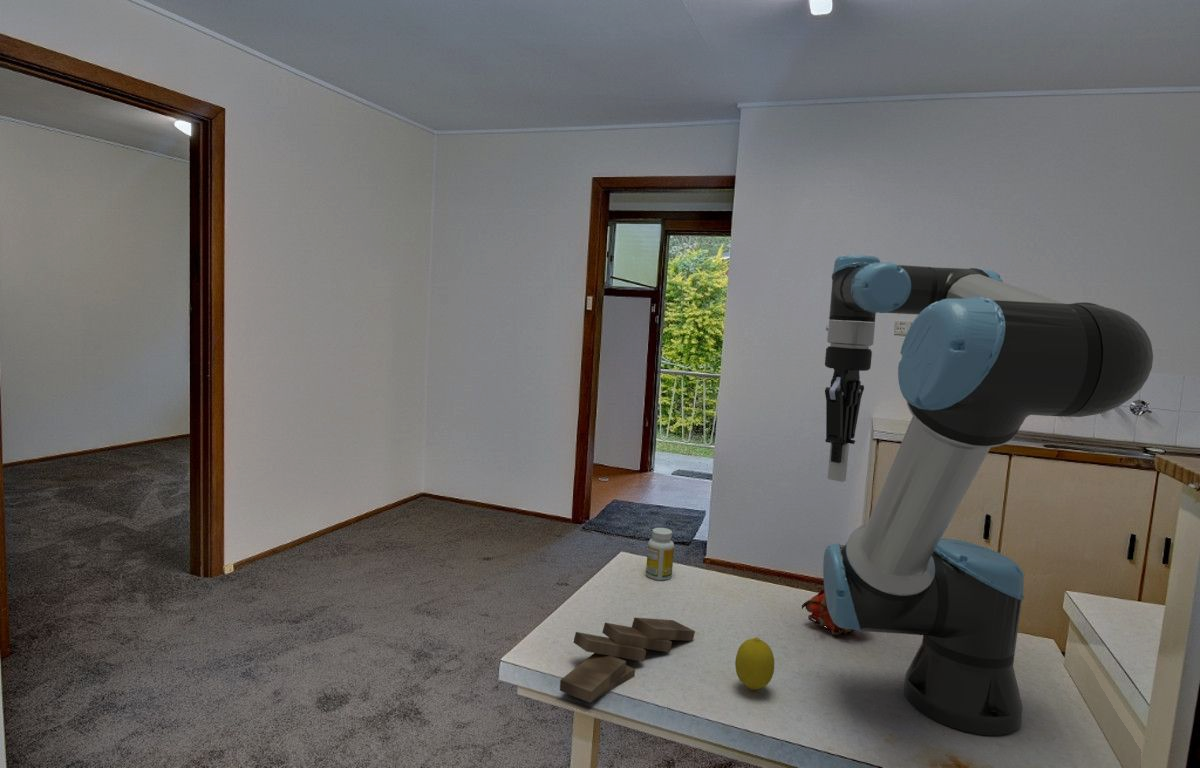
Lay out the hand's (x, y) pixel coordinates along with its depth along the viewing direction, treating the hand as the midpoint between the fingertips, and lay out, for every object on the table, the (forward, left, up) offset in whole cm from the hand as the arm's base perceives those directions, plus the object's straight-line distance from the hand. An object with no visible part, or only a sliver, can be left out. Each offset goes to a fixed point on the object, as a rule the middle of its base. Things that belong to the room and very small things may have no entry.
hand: (836, 479), depth 122 cm
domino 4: (+16, +29, -25) cm, 41 cm away
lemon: (-1, +30, -27) cm, 40 cm away
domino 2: (+17, +41, -24) cm, 51 cm away
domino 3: (+16, +39, -26) cm, 50 cm away
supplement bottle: (+33, +4, -27) cm, 43 cm away
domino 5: (+16, +23, -26) cm, 38 cm away
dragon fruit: (-3, +2, -27) cm, 27 cm away
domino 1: (+16, +35, -25) cm, 46 cm away
